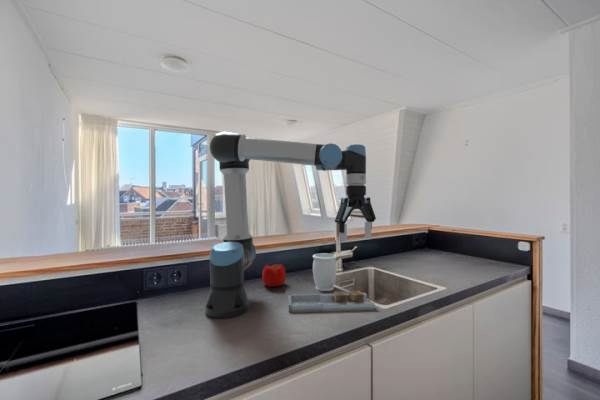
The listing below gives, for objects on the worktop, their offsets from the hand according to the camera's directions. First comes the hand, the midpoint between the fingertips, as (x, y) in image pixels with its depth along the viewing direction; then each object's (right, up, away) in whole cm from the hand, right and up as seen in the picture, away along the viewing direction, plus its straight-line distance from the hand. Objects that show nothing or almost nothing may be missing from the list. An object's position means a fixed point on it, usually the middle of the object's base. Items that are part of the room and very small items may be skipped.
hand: (356, 239), depth 109 cm
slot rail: (-11, -24, -7) cm, 27 cm away
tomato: (-34, -24, +18) cm, 45 cm away
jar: (-11, -24, +12) cm, 29 cm away
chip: (-7, -23, -7) cm, 25 cm away
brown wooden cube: (-1, -23, -6) cm, 24 cm away
